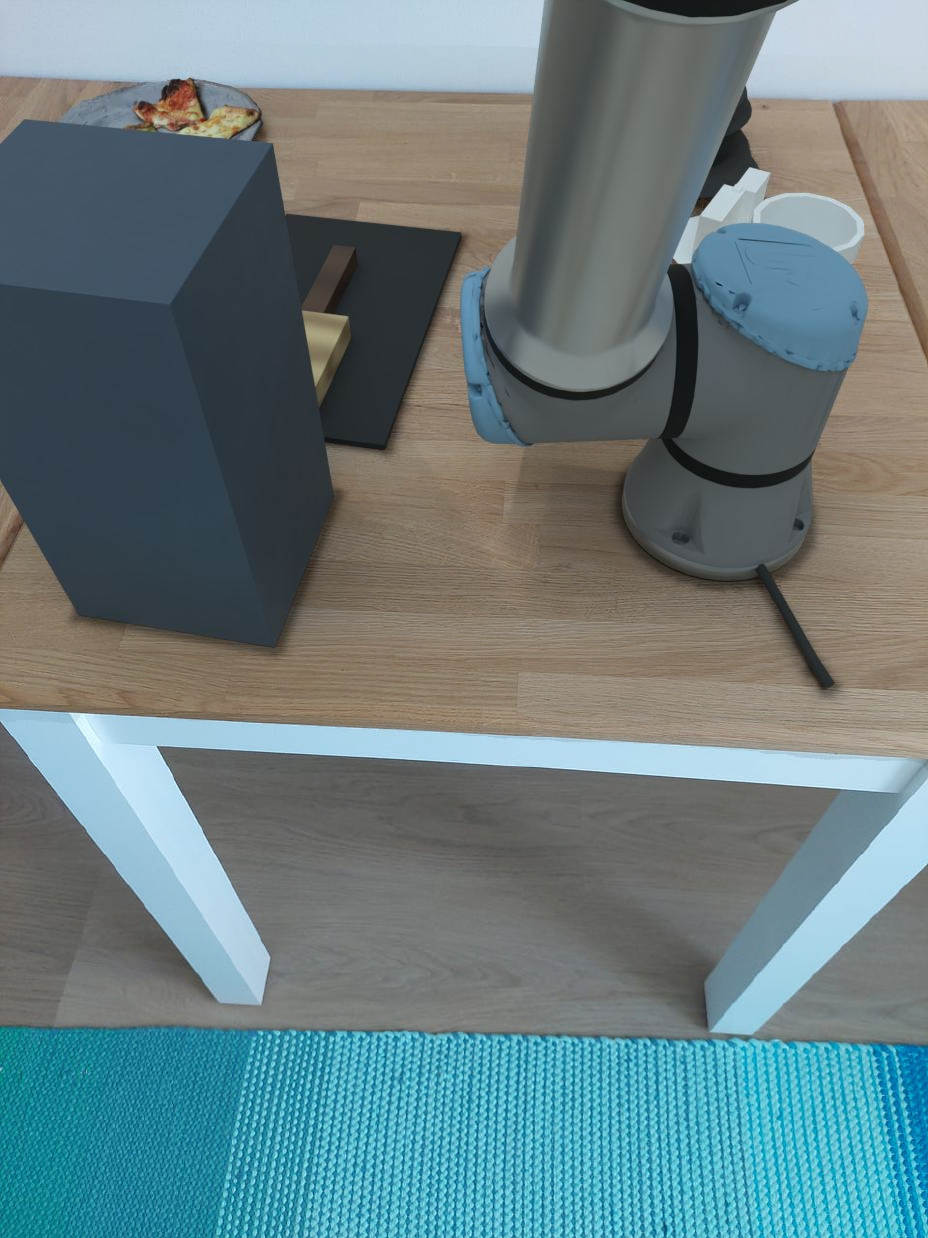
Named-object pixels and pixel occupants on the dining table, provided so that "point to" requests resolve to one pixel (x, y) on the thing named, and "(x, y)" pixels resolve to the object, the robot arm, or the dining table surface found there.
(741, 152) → the casserole
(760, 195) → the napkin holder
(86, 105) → the food plate
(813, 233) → the foam cup
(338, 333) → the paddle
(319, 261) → the mat
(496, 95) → the dining table surface
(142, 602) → the pedestal
